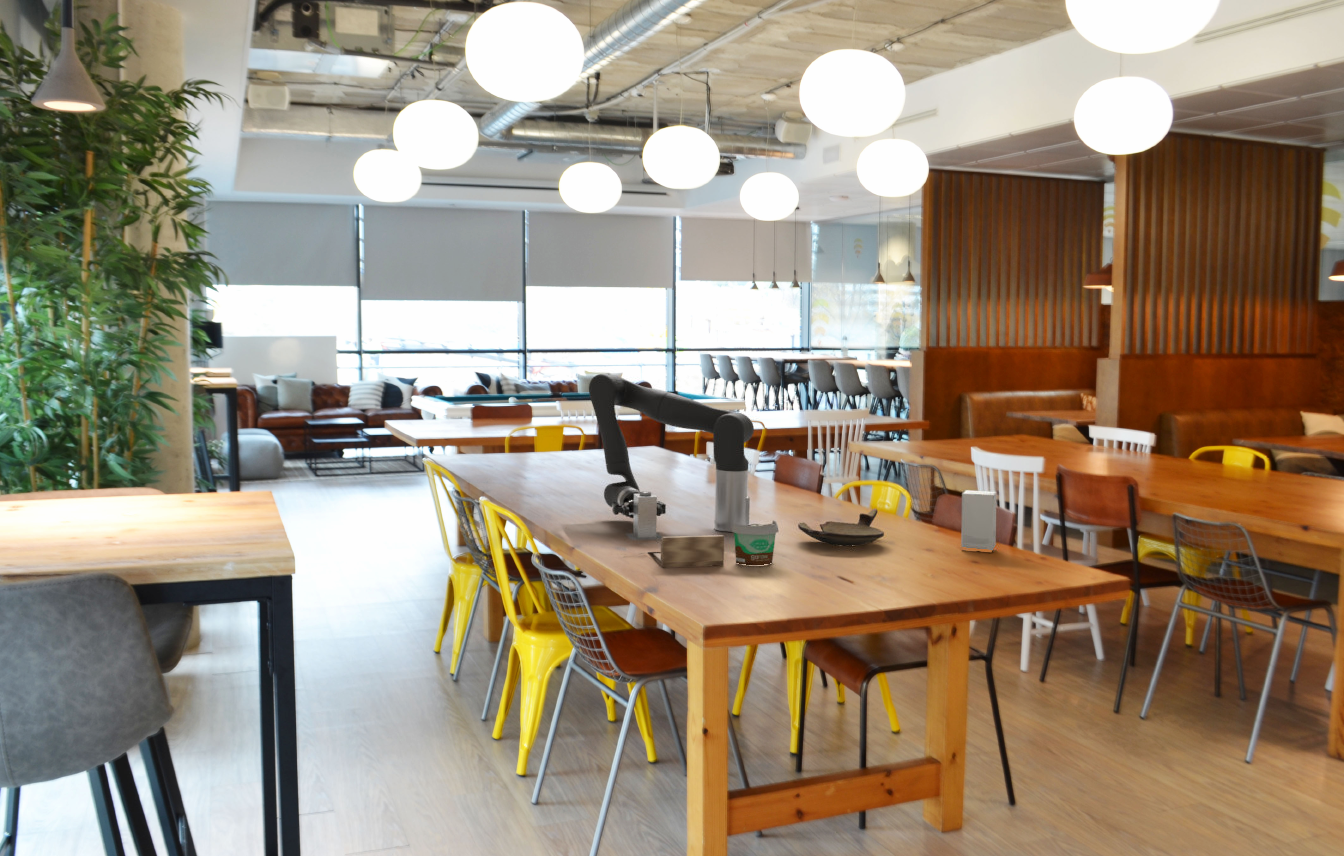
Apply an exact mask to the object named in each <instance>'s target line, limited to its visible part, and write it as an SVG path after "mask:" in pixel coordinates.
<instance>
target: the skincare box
mask: <svg viewBox="0 0 1344 856" xmlns="http://www.w3.org/2000/svg"><path fill="white" fill-rule="evenodd" d="M996 529H997V491H991V490H990V491H989V490H987V491H985V490H972V489H970V490H969V489H968V490H967V489H965V491H964V492H962V493H961V535H960V536H961V538H960V541H961V543H960V544H961V547H966V548H977V549H989V550H993V549H994V547H995V545H996V543H997V542H996V541H997V540H996V539H997V538H996V537H997V535H996V534H997V530H996Z"/></svg>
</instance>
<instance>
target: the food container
mask: <svg viewBox="0 0 1344 856" xmlns="http://www.w3.org/2000/svg"><path fill="white" fill-rule="evenodd" d="M777 523H778V522H777V521H776V520H772V523H767V524H760V523H752V524H749V525H747V526H746V525H739V524H735V523H734V526H733V528H732V533H734V534H733V536H734V548H735V549H734V552H735V564H736V563H739V564H746V565H764V564H770V563H772V564H773V559H774V551H775V543H776V542H775V541H776V536H777V535H776V534H777V533H779V526H778V524H777ZM739 564H738V565H739Z"/></svg>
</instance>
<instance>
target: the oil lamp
mask: <svg viewBox="0 0 1344 856" xmlns="http://www.w3.org/2000/svg"><path fill="white" fill-rule="evenodd" d="M877 514H878V509H877V508H873V509H871V510H870V511H869V512H868V513H859V518H858V523H853V522H852V523H851V522H849V523H848V522H840V521H826V522H825V523H820V524H819V527H820V530H821V531H820V530H815V529H812V528H811V527H810V526H809V525H808V524H807V523H805V522H799V523H798V525H797V527H798V529H799V530H801V532H803V533H804V534H806V535H807V536H808V537H810V538H812V539H814V540H817V541H819V542H821V543H824V544H827V545H834V546H839V545H842V546H841V547H853V546H852V545H859V546H861V545H862V546H863V545H865V544H868V543H872V542H874V541H876V540H878V539H880V538H882V537H883V538H884V536H885V533H884V531H882V530H881V529H880V528H877V527H873V526H871V525H872V523H873V521H874V520H875V518H876V516H877Z"/></svg>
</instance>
